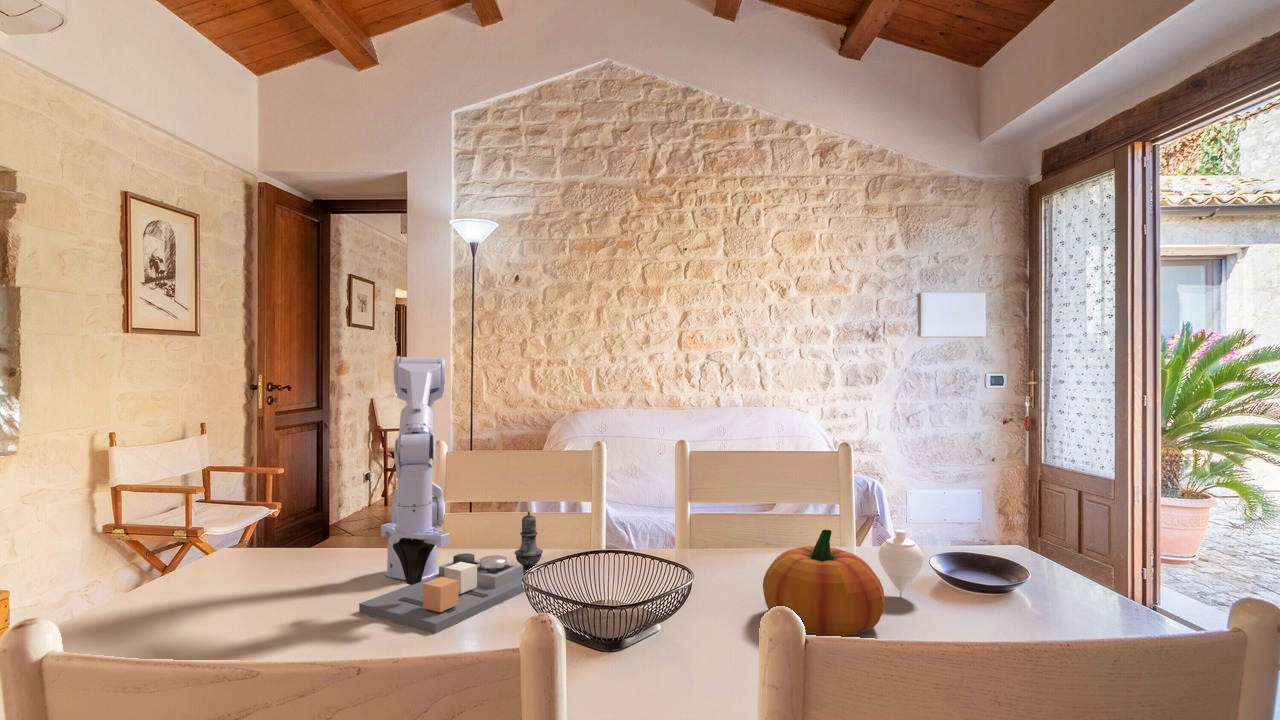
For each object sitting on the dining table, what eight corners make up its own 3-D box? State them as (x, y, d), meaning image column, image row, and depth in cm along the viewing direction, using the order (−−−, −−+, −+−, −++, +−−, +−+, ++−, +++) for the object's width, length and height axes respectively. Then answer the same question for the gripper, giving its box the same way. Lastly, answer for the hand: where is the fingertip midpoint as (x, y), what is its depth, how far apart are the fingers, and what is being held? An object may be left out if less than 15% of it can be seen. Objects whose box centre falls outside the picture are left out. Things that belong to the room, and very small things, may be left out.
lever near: (422, 607, 104) (423, 583, 104) (441, 600, 108) (441, 576, 108) (440, 612, 102) (440, 587, 103) (458, 604, 106) (458, 580, 106)
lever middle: (444, 590, 113) (444, 567, 113) (460, 583, 116) (460, 561, 117) (460, 593, 111) (461, 570, 111) (476, 587, 115) (477, 564, 115)
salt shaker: (536, 574, 128) (537, 514, 128) (509, 572, 129) (510, 513, 130) (546, 565, 134) (547, 508, 134) (520, 563, 135) (521, 507, 135)
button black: (448, 564, 123) (448, 557, 123) (463, 559, 127) (463, 552, 127) (464, 567, 121) (464, 560, 121) (478, 562, 125) (478, 555, 125)
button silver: (474, 568, 120) (474, 560, 120) (492, 561, 124) (492, 554, 124) (494, 572, 117) (494, 564, 117) (511, 565, 122) (512, 557, 122)
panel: (359, 612, 107) (359, 591, 107) (468, 570, 130) (468, 553, 130) (435, 633, 99) (436, 610, 99) (538, 584, 122) (538, 566, 122)
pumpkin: (739, 613, 107) (738, 525, 108) (821, 594, 117) (820, 513, 117) (823, 658, 91) (823, 553, 91) (911, 631, 100) (910, 536, 100)
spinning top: (924, 592, 118) (923, 528, 118) (923, 606, 111) (923, 537, 111) (880, 586, 121) (879, 523, 121) (877, 599, 114) (876, 532, 114)
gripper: (366, 503, 108) (365, 582, 108) (427, 512, 102) (426, 597, 101) (399, 496, 115) (399, 571, 114) (458, 504, 108) (458, 584, 108)
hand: (413, 582), depth 108 cm, fingers closed
